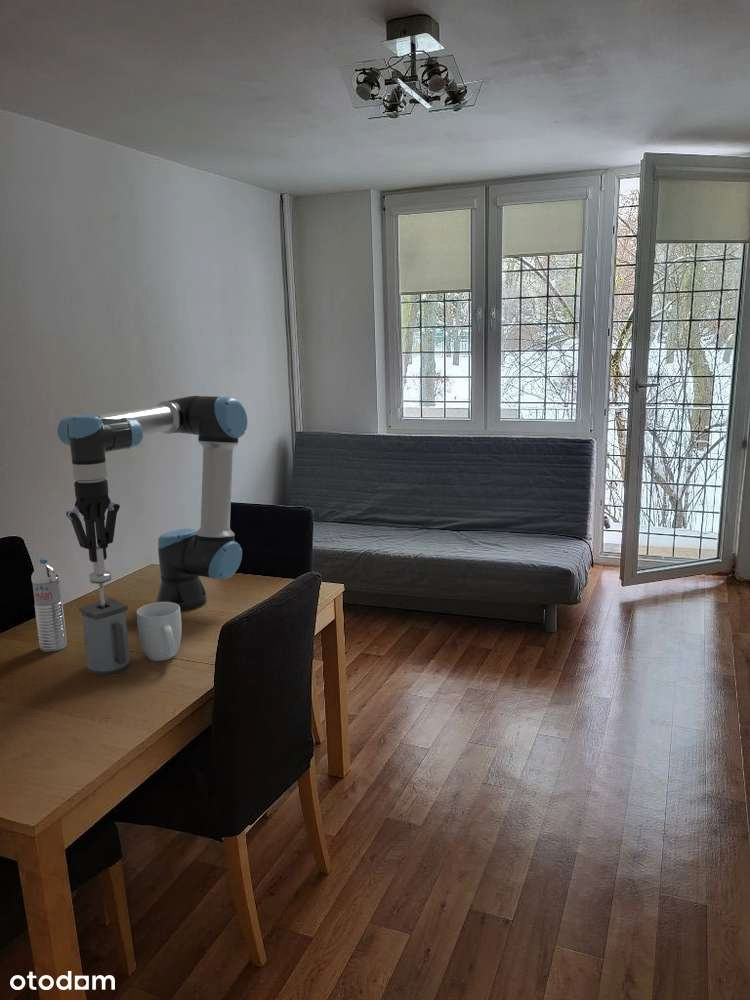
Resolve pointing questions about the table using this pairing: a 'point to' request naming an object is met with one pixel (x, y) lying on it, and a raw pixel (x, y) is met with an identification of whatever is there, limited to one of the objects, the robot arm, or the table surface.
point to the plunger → (100, 584)
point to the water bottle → (49, 608)
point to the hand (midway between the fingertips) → (99, 573)
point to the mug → (159, 629)
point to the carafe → (105, 637)
